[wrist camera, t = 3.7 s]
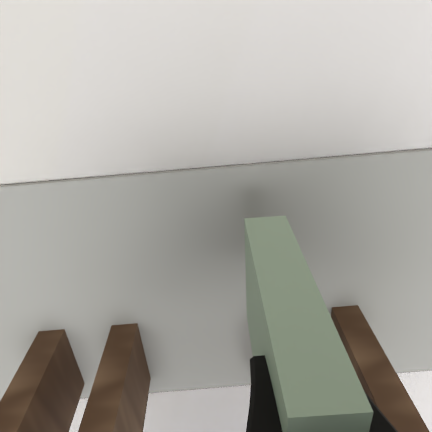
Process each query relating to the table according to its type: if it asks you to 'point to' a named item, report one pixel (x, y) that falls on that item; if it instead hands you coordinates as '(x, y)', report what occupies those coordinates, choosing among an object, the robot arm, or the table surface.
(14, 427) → the domino
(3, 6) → the table surface
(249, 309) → the sage domino
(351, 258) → the grey mat
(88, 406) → the domino
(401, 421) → the domino
